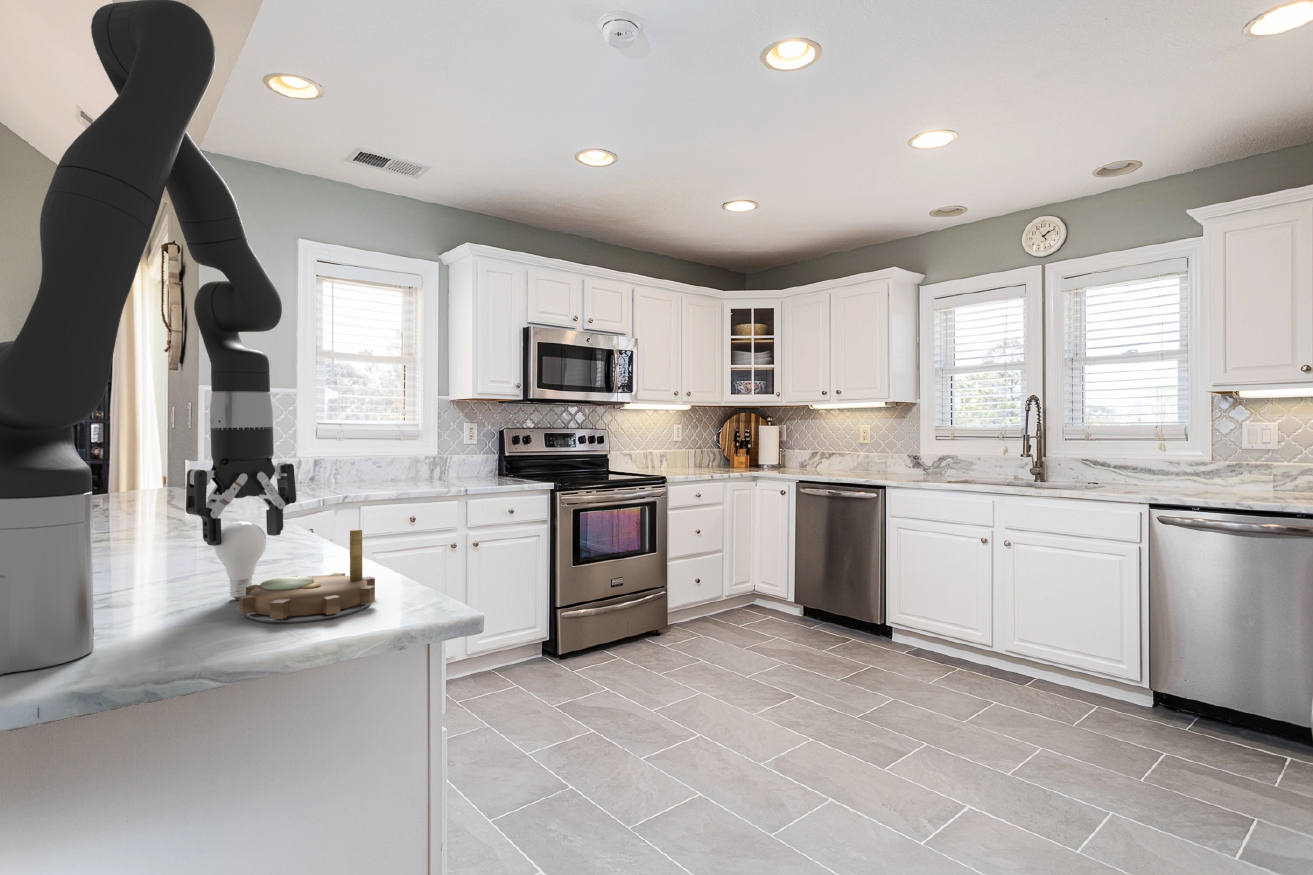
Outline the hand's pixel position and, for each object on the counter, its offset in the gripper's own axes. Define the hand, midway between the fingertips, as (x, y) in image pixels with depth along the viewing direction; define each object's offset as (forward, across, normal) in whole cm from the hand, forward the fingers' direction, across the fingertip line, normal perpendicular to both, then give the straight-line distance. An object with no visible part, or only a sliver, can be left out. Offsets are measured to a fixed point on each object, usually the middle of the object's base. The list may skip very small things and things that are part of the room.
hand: (245, 539), depth 97 cm
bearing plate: (+8, +1, -12) cm, 15 cm away
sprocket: (+8, +1, -12) cm, 15 cm away
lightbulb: (+8, -1, 0) cm, 9 cm away
